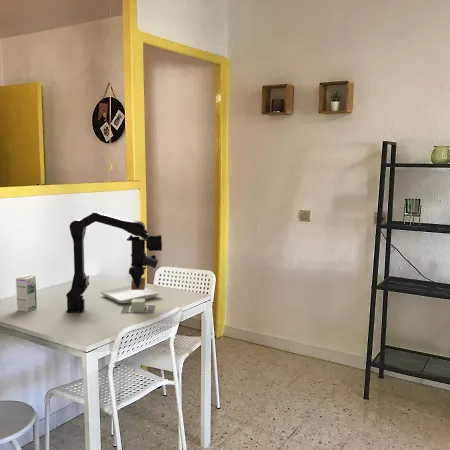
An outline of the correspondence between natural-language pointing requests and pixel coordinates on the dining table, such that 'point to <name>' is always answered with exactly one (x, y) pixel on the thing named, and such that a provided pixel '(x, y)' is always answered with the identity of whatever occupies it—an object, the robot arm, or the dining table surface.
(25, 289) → the syrup box
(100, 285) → the dining table surface
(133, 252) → the robot arm
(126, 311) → the mat
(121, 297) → the salad plate
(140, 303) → the sage block
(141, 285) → the walnut block
